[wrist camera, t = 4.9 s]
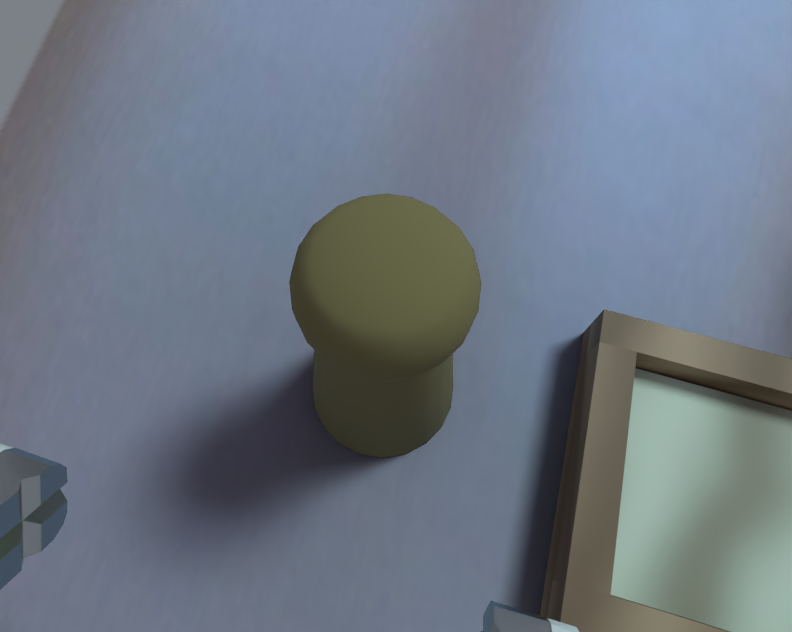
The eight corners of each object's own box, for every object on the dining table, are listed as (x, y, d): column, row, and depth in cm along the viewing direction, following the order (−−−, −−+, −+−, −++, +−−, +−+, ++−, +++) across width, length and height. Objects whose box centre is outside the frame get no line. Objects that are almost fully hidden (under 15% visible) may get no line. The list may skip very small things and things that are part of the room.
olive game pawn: (368, 297, 25) (362, 122, 15) (479, 371, 24) (552, 233, 14) (282, 401, 23) (210, 276, 13) (399, 488, 22) (417, 424, 12)
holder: (538, 623, 20) (558, 630, 18) (583, 332, 25) (604, 309, 23) (878, 731, 19) (947, 754, 17) (856, 405, 24) (907, 389, 22)
